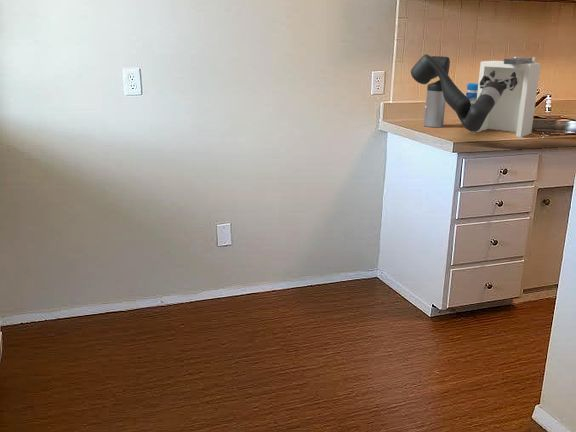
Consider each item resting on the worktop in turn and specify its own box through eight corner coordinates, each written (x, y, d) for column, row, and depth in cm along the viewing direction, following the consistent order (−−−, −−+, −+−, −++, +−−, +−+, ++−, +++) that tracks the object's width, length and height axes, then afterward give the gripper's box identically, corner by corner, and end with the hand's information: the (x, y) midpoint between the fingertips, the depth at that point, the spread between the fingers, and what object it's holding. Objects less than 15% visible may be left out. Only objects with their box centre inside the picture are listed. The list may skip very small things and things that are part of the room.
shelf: (473, 131, 292) (481, 55, 282) (485, 127, 304) (493, 55, 294) (520, 137, 279) (530, 58, 269) (531, 133, 292) (541, 57, 281)
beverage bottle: (480, 123, 317) (485, 83, 311) (475, 125, 310) (480, 84, 305) (464, 122, 322) (468, 82, 316) (459, 123, 315) (463, 83, 309)
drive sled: (503, 63, 268) (504, 58, 267) (521, 62, 286) (521, 57, 286) (515, 64, 265) (515, 59, 264) (532, 62, 283) (532, 57, 283)
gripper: (474, 101, 261) (488, 79, 269) (508, 104, 252) (521, 81, 261) (472, 86, 256) (487, 64, 264) (507, 88, 248) (521, 66, 256)
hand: (504, 73), depth 263 cm, fingers open, 8 cm apart
